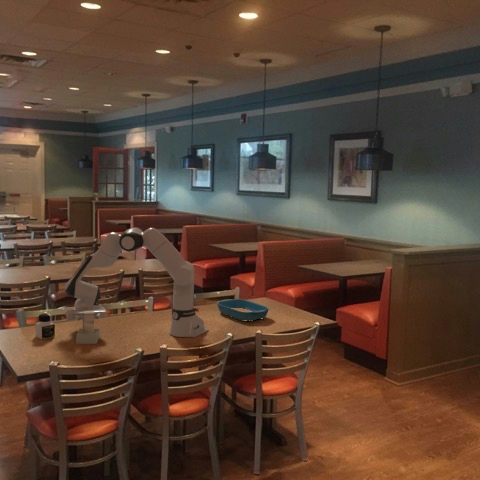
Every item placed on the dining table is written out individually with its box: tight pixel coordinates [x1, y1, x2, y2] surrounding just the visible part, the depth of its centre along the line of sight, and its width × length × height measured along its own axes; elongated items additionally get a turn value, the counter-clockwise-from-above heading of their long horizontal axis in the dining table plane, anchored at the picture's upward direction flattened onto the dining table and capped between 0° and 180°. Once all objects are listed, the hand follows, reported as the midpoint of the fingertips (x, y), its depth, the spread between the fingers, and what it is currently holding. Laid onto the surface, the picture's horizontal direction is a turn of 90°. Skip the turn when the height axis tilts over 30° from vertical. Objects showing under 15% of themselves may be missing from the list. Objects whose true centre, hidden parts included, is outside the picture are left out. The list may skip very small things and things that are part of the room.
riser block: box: [75, 328, 100, 345], centre depth 274 cm, size 10×10×5 cm
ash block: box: [82, 311, 95, 333], centre depth 273 cm, size 5×5×10 cm
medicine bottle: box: [34, 313, 56, 340], centre depth 276 cm, size 7×7×12 cm
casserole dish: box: [216, 298, 270, 321], centre depth 333 cm, size 37×22×7 cm, turn 38°
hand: (88, 318), depth 272 cm, fingers open, 8 cm apart
